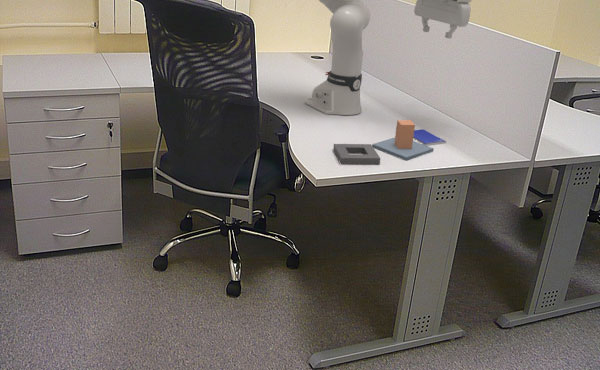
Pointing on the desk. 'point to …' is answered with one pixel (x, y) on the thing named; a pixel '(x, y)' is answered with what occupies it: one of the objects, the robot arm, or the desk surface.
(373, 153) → the pocket holder
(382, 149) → the slate mat
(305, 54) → the desk surface
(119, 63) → the desk surface
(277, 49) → the desk surface
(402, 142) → the terracotta block
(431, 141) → the hard drive
